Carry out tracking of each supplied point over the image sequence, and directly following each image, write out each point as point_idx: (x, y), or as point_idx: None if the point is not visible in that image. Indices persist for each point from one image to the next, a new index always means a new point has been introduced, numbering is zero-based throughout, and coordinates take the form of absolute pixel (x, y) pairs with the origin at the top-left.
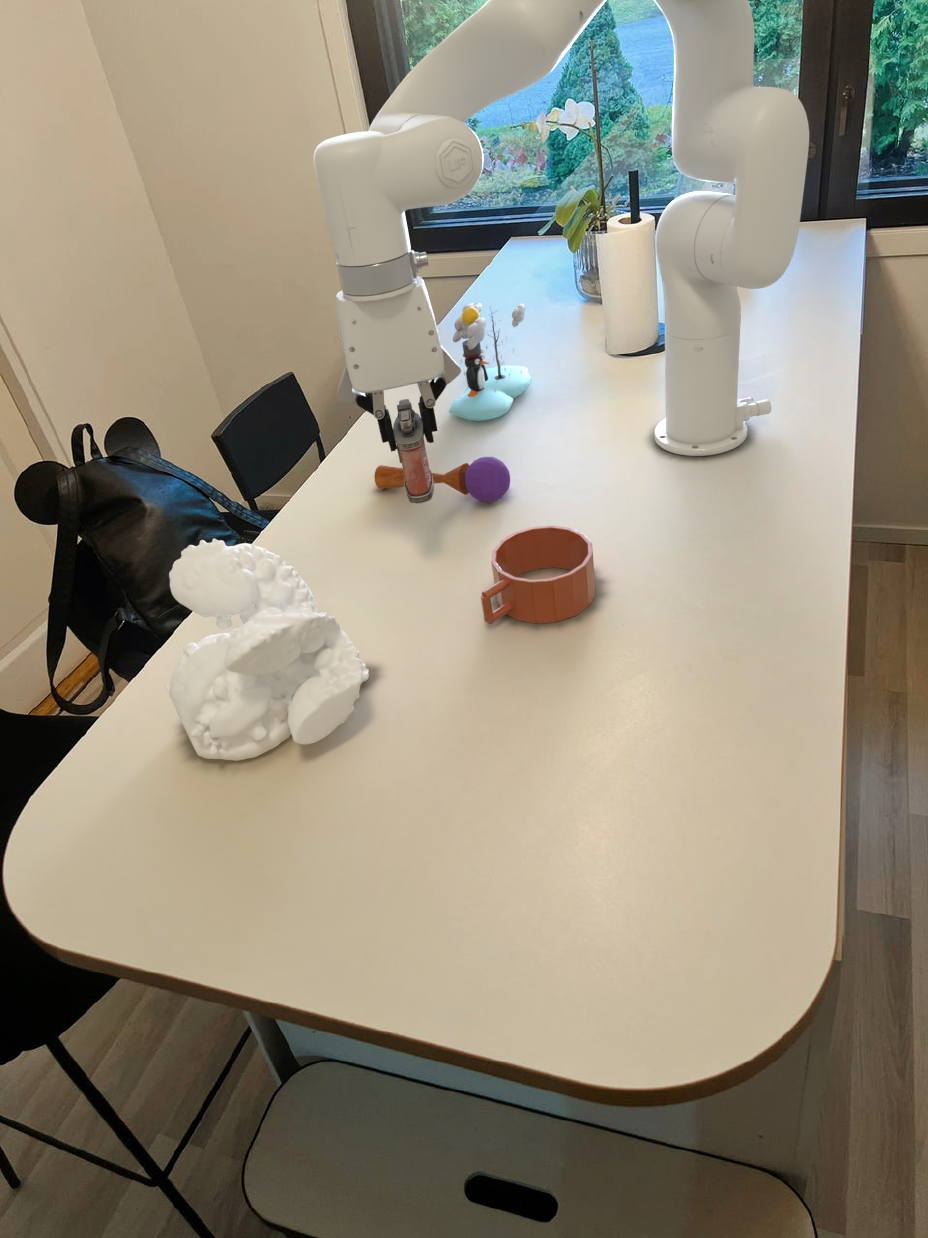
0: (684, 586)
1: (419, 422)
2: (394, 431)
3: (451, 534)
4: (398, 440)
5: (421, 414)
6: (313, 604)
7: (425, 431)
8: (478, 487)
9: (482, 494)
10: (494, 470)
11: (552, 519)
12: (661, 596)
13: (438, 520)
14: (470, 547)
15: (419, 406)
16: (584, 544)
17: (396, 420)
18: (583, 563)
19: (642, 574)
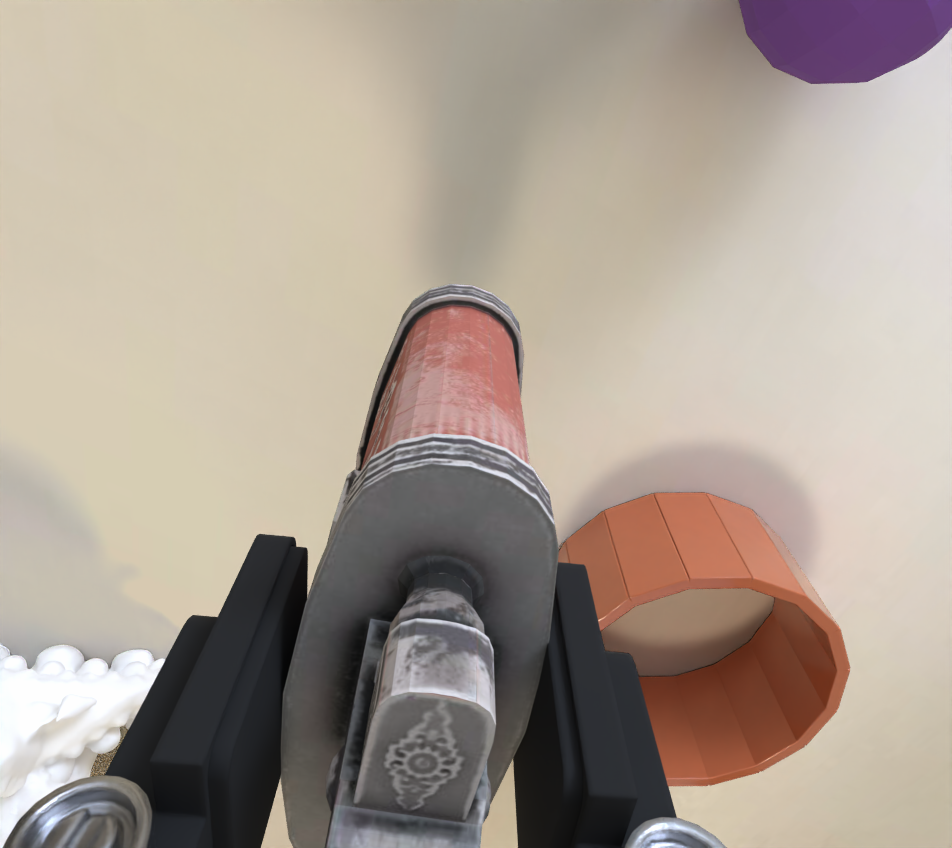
0: (929, 693)
1: (513, 687)
2: (291, 722)
3: (554, 177)
4: (300, 835)
5: (533, 825)
6: (6, 776)
7: (514, 774)
8: (775, 50)
9: (771, 63)
10: (904, 41)
11: (900, 277)
12: (866, 699)
13: (545, 30)
14: (582, 299)
15: (547, 839)
16: (824, 680)
17: (338, 564)
18: (760, 767)
19: (894, 627)
